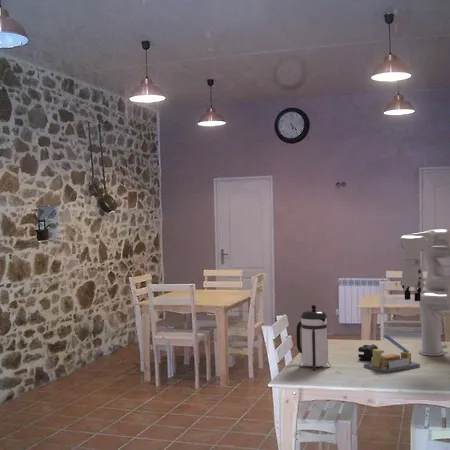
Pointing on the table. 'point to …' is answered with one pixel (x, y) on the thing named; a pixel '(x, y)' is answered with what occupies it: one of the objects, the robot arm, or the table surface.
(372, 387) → the table surface
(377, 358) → the block
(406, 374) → the table surface
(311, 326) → the coffee press
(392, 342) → the strap
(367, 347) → the end cap
